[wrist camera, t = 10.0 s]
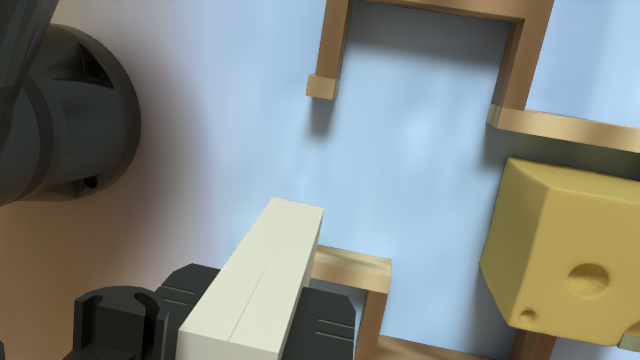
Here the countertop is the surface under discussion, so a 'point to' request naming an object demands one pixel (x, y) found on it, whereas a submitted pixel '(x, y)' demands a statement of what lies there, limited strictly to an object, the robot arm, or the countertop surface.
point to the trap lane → (505, 113)
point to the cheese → (565, 252)
